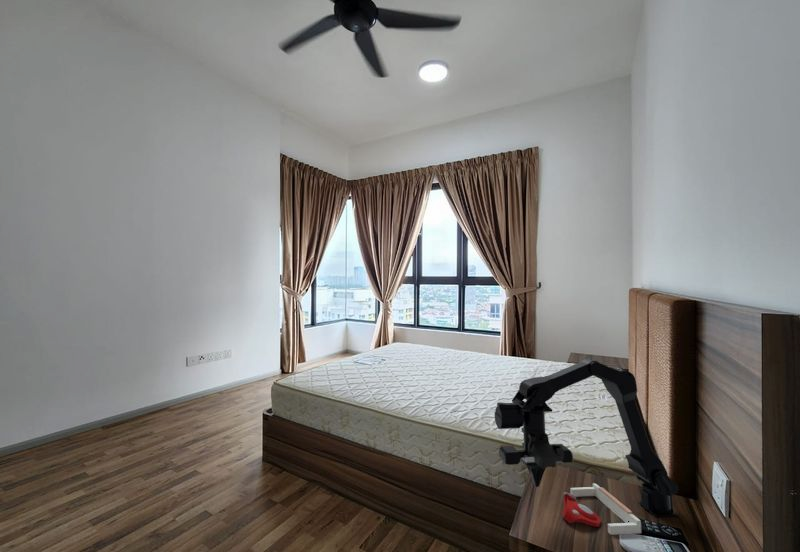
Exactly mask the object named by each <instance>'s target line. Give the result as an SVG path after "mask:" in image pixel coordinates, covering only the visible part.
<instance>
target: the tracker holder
mask: <svg viewBox="0 0 800 552" xmlns="http://www.w3.org/2000/svg"><path fill="white" fill-rule="evenodd" d="M563 495H564V498H563V511H562V512H563V513H562V518H563V519H564V520H565V521H566V522H567V523H568V524H573V523H574V522H578V523H582V524H586V525H587V526H591V527H595V528H596V527H600V526H601V521H602V520H601V518H600V517H599V515H598V514H596V512H595V511H594V510H592V509H591V508H590V507H589V506H587V505H585V504H583V503H581V502H579V501H576V500H577V497H574V495H571V493H569V492H567V491H565V492H563Z"/></svg>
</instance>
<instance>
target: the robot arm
mask: <svg viewBox="0 0 800 552" xmlns="http://www.w3.org/2000/svg"><path fill="white" fill-rule="evenodd" d="M593 376H594V377H596V378H597V379H599V380H601V381H602V384H603V385H604V388H605V390H606V391H607V393H609V394H610V396H611V397H612V398H613V400H614V401H615V404H616V406H617V411H618V413H619V416H620V418H621V422H622V424H623V427H624V431H625V435H626V437H627V440H628V442H629V446H630V452H629V454H625V455H624V456H625V460H627V463H628V469H629V470H631V471H632V472H633V473H634V475H635V477H636V478H637V479H638V480H639V481H641V489H640V496H641V498H640V499H641V501H640V500H639V501H638V504H639V505H640V506H641V507H643V508H644V509H646V510H647V511H648V512H649V513H651V514H652V515H653V516H654V517H658V518H659V517H662V518H663V517H678V516H679V512H677V511H675V510H674V503H673V495H678V492H679V488H680V487H679V485H678V484H677V483H676V482H675V481H674V480H673V479H671V477H670V476H669V475H668V471H667V469H666V467H665V466H664V465H665V464H664V463H663V461H662V460H661V458H659V456H658V455H657V454H656V453H655V452H654V450H653V448H652V446H651V443H650V440H649V437H648V435H647V431H646V429H645V425H644V422H643V419H642V416H641V413H640V411H639V407H638V405H637V402H636V401H637V400H636V397H637V393H638V387H637V380H636V377H635V375H634V374H633V372H632V373H631V372H630V371H628V370H626V369H621V368H618V367H614V366H607V365H605V364H603V363H600V362H599V361H598V360H593V359H589V358H584V359H583V360H581V361H579V362H577V363H575V364H572V365H570V366H568V367H565V368H563V369H561V370H558V371H556V372H554V373H553V372H552V373H551V374H549V375H546V376H537V377H532V378H527V379H524V380H522V381H521V382H520V384H519V387H518V390H517V392H516V394H515V395H514V397H513V398H512V400H511V402H500V401H499V402H496V407H495V411H494V422H495V425H496V428H498V429H499V430H512V429H514V430H515V429H516V430H517V429H521V432H522V433H523V442H521V445H522V446H521V447H522V448H523V449H517V448H516V447H515V446H514V445H500V447H499V449H498V456H499V458H501V461H503V463H504V464H505V465H508V466H511V465H519V464H520V463H521V462H522V463H523V464H524V465H525V467H526V468H527V471H528V472H529V475H530V478H531V480H532V483H533V485H534V486H535V488H539V487H540V485H541V482H542V478H543V476H544V474H545V471H546V469H547V468H550V467H551V468H556V467H557V464H558V463H557V462H562V463H563V464H564V463H573V462H574V454H573V452H572V451H571V450H570V449H569V448H568V447H567V446H565V445H564V444H562V443H550V441H549V440H550V439H549V436H548V434H547V433H546V420H545V419H546V417H545V413H551V412H553V408H552V407H550V406H549V405H548V404H547V401H549V400H551V399H552V398H553V397H554V396H555V394H556V393H557V392H559V391H561V390H564V389H566V388H568V387H570V386H573V385H575V384H578V383H580V382H581V381H584V380H586V379H589V378H591V377H593ZM524 400H525V401H524Z"/></svg>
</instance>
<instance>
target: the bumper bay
mask: <svg viewBox="0 0 800 552" xmlns="http://www.w3.org/2000/svg"><path fill="white" fill-rule="evenodd" d="M569 490H570V494H571V495H574V497H576V498H577V497H596V498H597V499H598V501H599V500H600V502H601V503H602V504H604V505H605V506H606V507H607V508H608V509H609V510H611V512H613V514H615V515H616V516H617V517H619V518H620V519H621V520H622V521H623V522H616V523H607V533H608V534H609V535H615V536H616V535H634V534H642V522H641V519H639V518H638V517H637V516H636V515H635V514H633V511H632V510H631V509H629V508H628V507H627V506H626V505H624V504H623V502H621V501H619V500H618V499H617V498H616V497H614V495H612V494H611V493H610V492H608V491H607V490H606V489H605V488H604V487H602V486H601V487H600V486H599V485H598V484H597V483H594V482H593V483H592V486H587V487H583V486H582V487H570V488H569ZM628 521H629V522H628Z"/></svg>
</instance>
